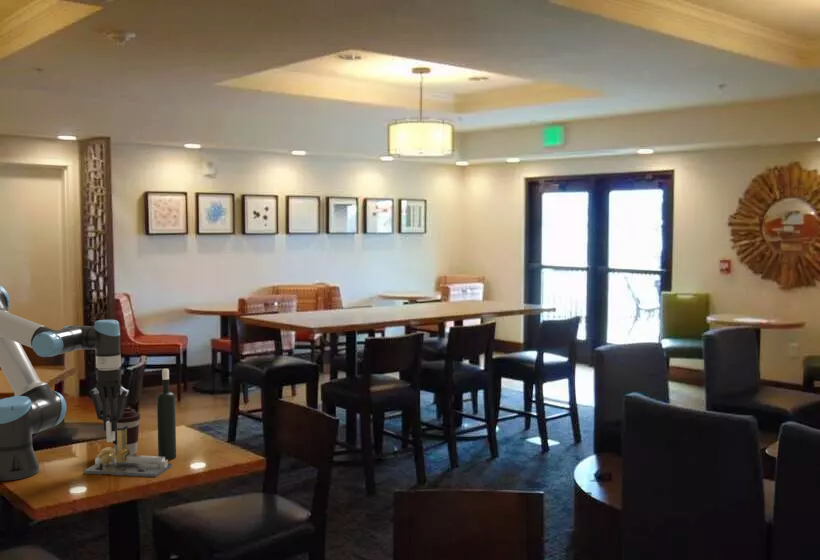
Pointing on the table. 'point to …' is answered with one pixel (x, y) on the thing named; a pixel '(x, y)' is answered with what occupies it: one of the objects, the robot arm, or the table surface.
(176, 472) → the table surface
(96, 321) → the robot arm
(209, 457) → the table surface
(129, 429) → the coffee cup
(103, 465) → the trammel plate
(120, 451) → the sliding leg
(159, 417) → the wine bottle
